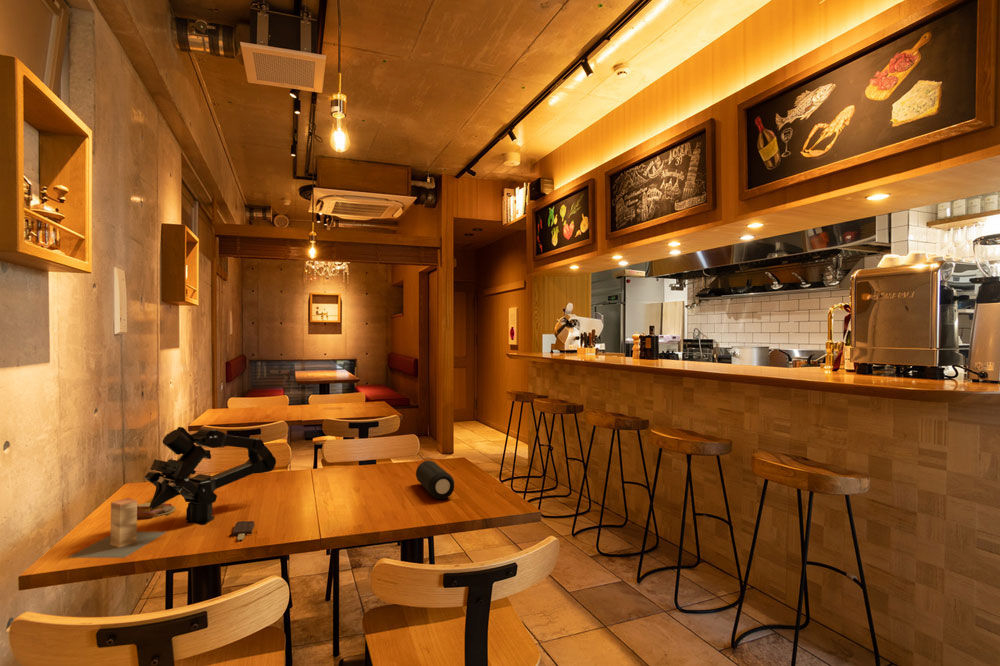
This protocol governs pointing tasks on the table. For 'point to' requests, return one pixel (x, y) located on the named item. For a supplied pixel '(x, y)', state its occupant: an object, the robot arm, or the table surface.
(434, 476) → the portable speaker
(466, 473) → the table surface
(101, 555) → the rubber mat
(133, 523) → the maple block
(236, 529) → the ice cream bar
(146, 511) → the toy sandwich meal
